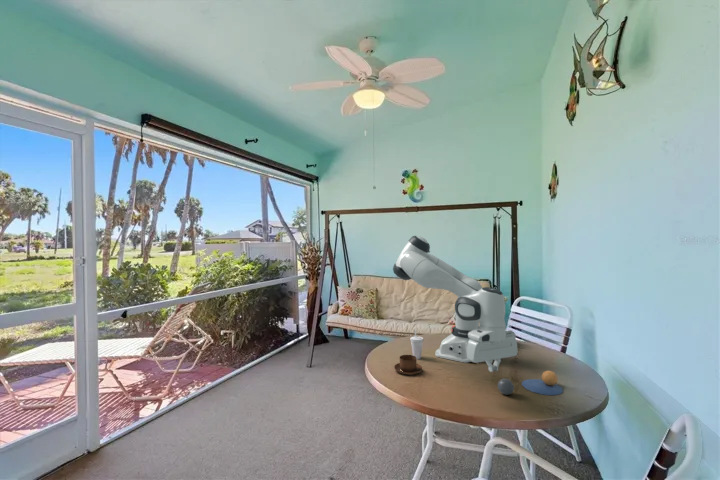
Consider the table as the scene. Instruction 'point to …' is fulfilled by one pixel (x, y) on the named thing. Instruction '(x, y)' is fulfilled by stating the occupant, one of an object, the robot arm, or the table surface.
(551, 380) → the orange ball
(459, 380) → the table surface
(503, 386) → the charcoal ball
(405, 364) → the cup and saucer
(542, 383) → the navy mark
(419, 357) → the smoothie
